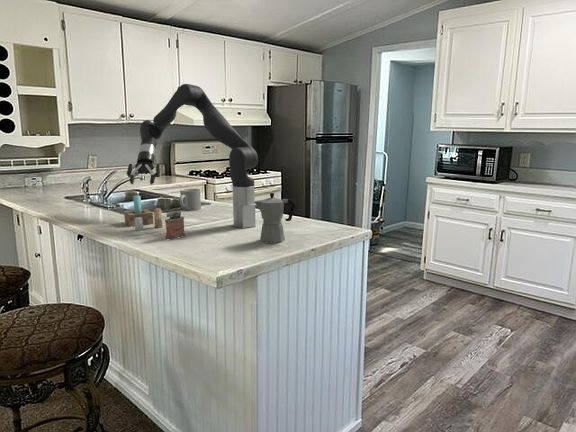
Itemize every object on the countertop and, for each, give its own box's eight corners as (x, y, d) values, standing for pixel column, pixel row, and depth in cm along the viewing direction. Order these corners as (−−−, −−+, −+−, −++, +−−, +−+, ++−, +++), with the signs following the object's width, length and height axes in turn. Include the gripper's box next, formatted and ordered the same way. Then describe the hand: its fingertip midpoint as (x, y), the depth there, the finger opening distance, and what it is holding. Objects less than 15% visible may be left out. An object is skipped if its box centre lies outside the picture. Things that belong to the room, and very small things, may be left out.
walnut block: (153, 223, 189) (152, 212, 188) (129, 226, 184) (128, 215, 183) (147, 219, 197) (146, 209, 196) (124, 222, 192) (123, 211, 191)
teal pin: (143, 223, 190) (141, 196, 188) (136, 224, 189) (134, 197, 186) (141, 222, 193) (139, 195, 190) (134, 222, 191) (132, 196, 189)
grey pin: (143, 230, 178) (143, 218, 177) (136, 231, 176) (135, 219, 175) (142, 228, 180) (141, 217, 179) (134, 229, 179) (133, 217, 178)
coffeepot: (253, 243, 157) (252, 195, 153) (255, 237, 166) (254, 190, 162) (296, 243, 156) (296, 194, 153) (295, 237, 166) (295, 190, 162)
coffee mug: (191, 206, 229) (190, 187, 227) (205, 208, 223) (204, 189, 221) (171, 210, 218) (170, 191, 216) (185, 212, 212) (184, 192, 210)
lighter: (181, 234, 170) (180, 209, 168) (187, 235, 168) (185, 210, 166) (164, 238, 164) (162, 213, 162) (169, 240, 162) (168, 214, 160)
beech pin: (163, 227, 182) (162, 209, 180) (156, 228, 180) (154, 209, 179) (161, 226, 184) (159, 207, 183) (154, 227, 183) (152, 208, 181)
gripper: (129, 150, 199) (123, 178, 190) (160, 150, 200) (155, 178, 191) (133, 160, 205) (127, 188, 196) (163, 161, 206) (159, 188, 197)
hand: (141, 183), depth 194 cm, fingers open, 8 cm apart
